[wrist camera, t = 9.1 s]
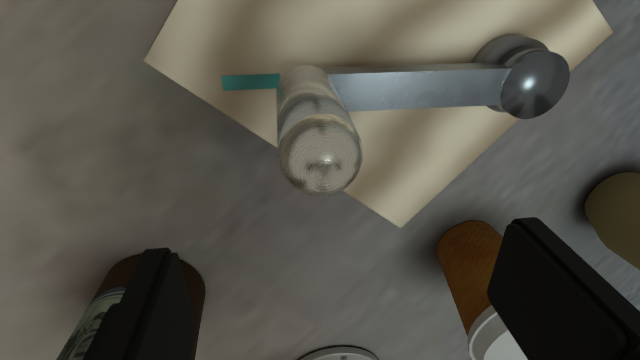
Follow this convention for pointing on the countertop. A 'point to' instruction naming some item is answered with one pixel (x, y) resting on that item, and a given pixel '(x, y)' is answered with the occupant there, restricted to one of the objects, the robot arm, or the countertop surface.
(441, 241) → the disposable coffee cup
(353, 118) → the lever board
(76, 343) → the olive oil
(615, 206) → the squeeze bottle
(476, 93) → the lever
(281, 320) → the countertop surface
